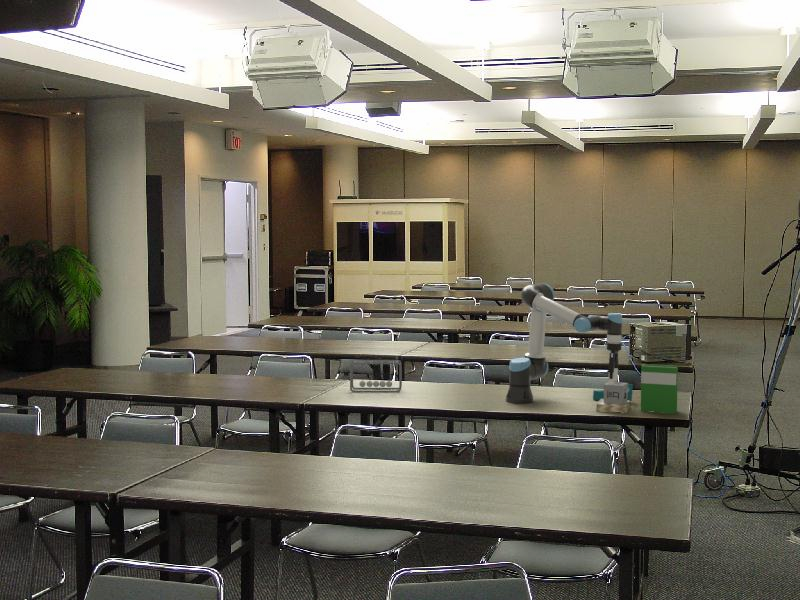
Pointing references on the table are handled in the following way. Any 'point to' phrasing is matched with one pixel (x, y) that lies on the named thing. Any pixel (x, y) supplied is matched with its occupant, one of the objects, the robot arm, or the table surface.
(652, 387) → the green cereal box
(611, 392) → the icon cube
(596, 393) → the teal tape dispenser
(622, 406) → the plinth
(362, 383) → the newton's cradle
